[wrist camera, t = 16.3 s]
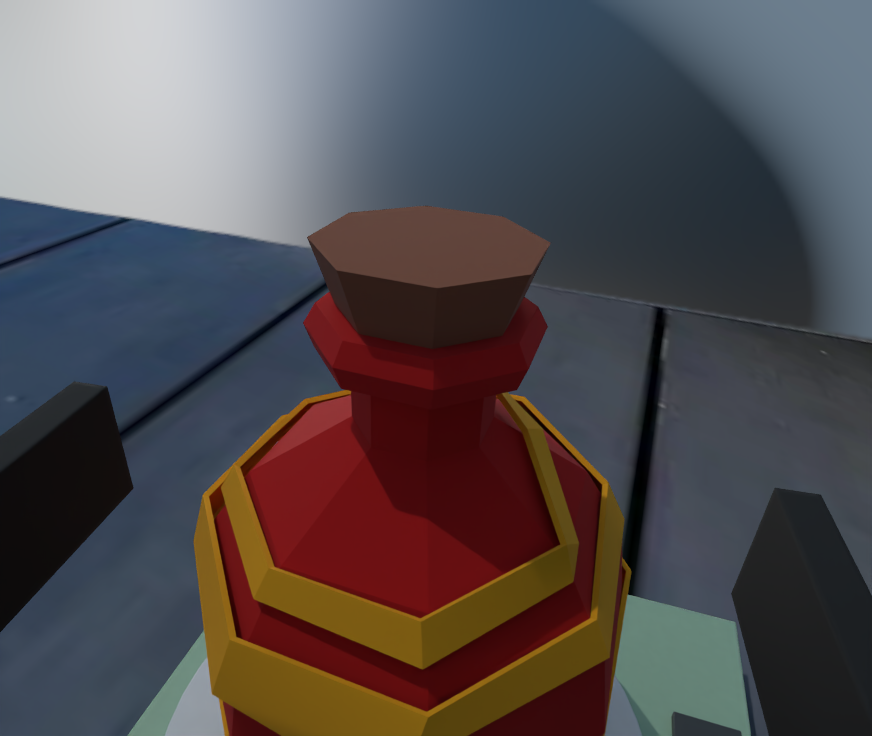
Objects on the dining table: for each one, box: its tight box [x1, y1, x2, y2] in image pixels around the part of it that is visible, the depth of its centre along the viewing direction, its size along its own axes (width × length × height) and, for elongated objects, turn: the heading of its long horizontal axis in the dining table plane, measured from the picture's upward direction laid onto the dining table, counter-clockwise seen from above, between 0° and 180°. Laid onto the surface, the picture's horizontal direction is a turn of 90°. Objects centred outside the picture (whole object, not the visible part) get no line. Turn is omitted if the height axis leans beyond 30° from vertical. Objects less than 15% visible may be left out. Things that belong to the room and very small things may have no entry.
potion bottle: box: [194, 206, 631, 736], centre depth 15 cm, size 10×10×15 cm
